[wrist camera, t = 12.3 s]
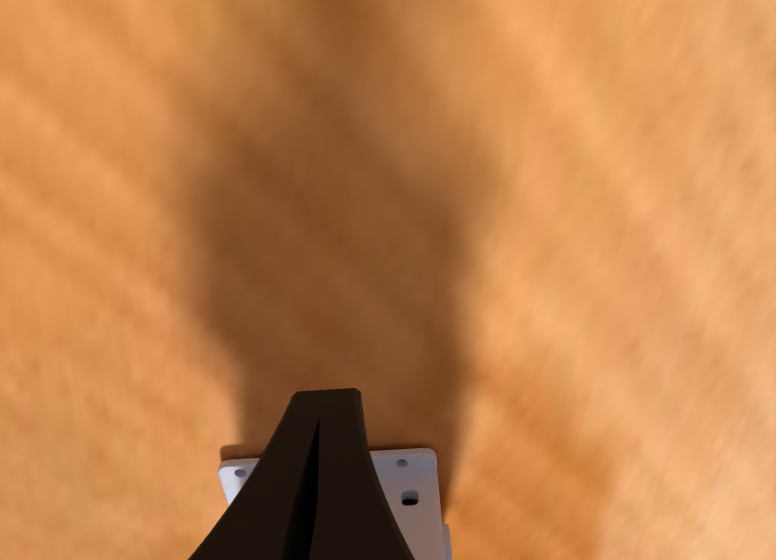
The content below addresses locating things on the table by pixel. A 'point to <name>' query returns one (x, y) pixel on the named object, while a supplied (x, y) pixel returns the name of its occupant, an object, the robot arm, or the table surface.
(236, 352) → the table surface
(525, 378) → the table surface
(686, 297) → the table surface
